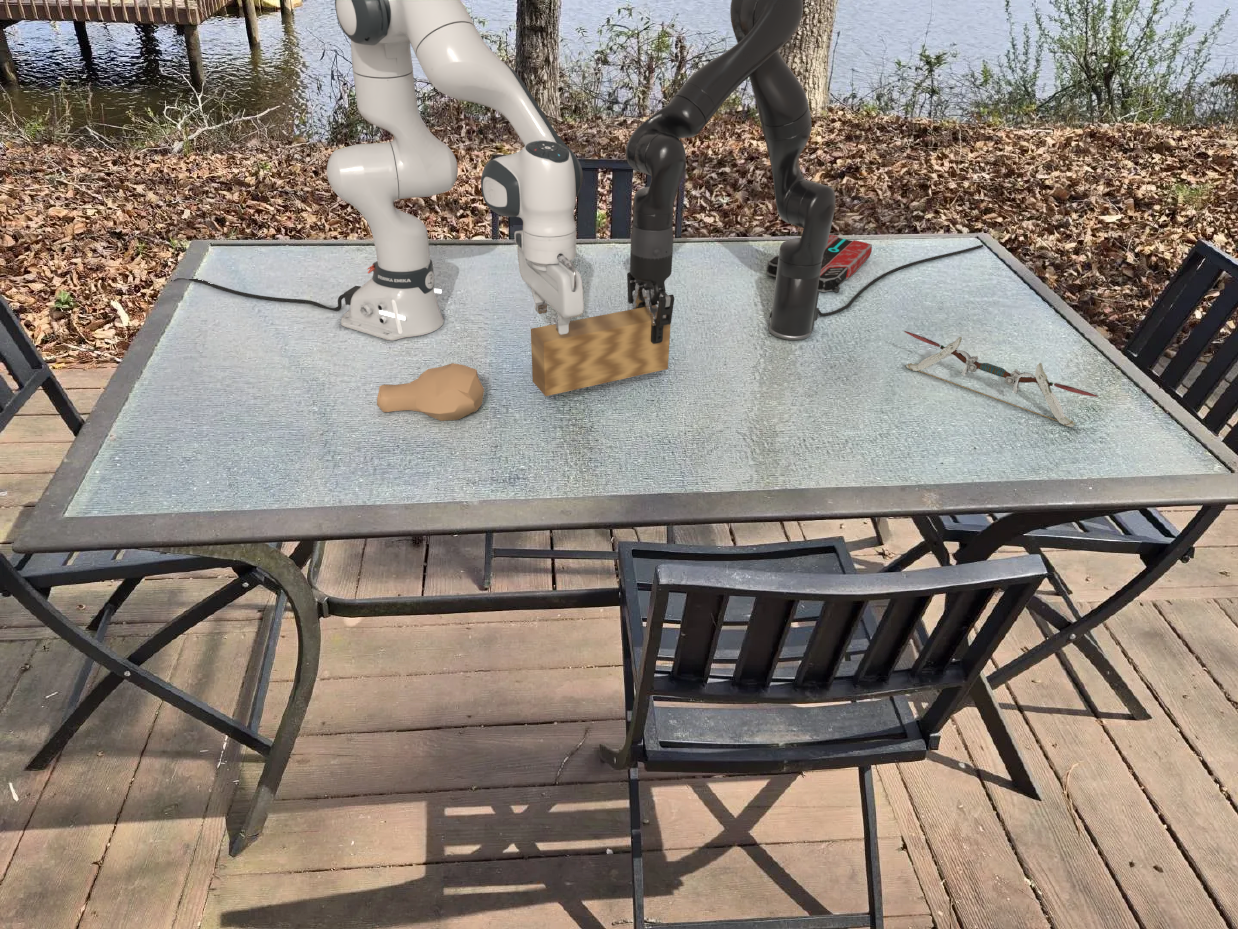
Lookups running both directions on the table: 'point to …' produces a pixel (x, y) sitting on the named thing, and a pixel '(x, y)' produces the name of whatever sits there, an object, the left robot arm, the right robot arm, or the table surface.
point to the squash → (436, 393)
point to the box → (597, 351)
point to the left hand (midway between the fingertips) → (551, 322)
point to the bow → (1010, 379)
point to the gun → (835, 262)
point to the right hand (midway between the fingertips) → (647, 334)
